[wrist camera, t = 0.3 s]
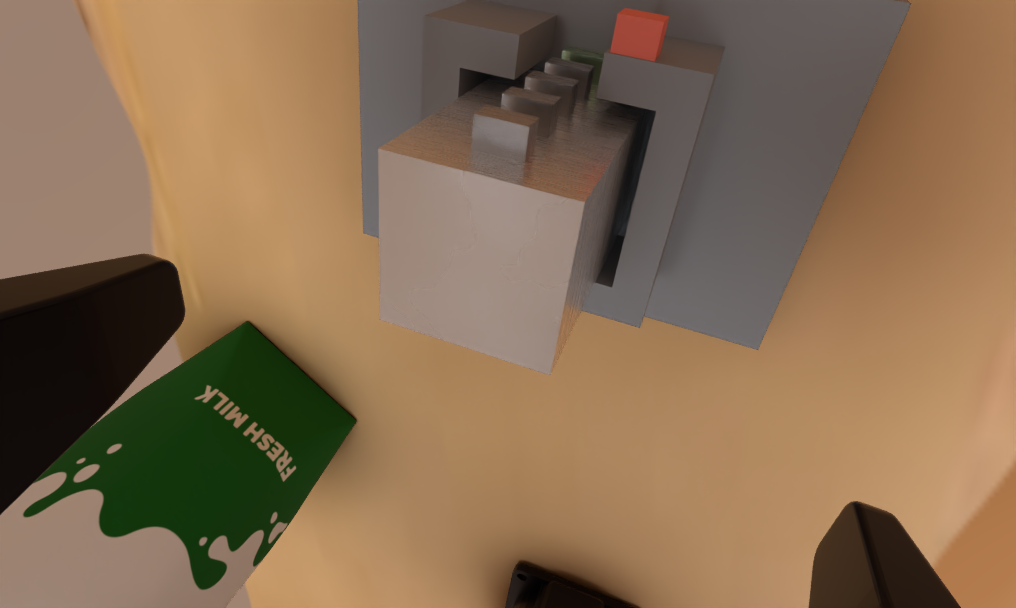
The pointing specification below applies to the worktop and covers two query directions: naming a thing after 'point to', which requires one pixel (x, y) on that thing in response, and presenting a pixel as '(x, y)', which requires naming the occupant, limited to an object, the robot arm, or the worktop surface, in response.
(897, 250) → the worktop surface
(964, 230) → the worktop surface
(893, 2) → the stand
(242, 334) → the milk carton
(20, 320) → the robot arm
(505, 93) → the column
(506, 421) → the worktop surface
